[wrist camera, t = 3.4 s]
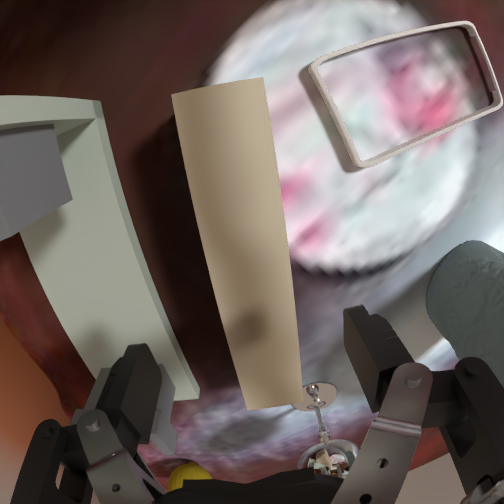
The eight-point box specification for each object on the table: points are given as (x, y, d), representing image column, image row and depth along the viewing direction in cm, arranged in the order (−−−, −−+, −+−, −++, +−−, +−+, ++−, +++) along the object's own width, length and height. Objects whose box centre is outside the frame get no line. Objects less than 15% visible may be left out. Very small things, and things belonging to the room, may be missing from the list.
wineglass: (350, 399, 26) (383, 500, 16) (298, 420, 27) (316, 521, 16) (332, 368, 24) (370, 487, 13) (274, 393, 25) (289, 512, 14)
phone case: (352, 169, 18) (494, 105, 16) (360, 172, 17) (505, 106, 15) (302, 65, 15) (461, 22, 13) (307, 61, 14) (471, 19, 12)
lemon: (183, 448, 29) (177, 504, 22) (222, 461, 31) (221, 514, 24) (164, 461, 31) (157, 511, 24) (200, 473, 33) (198, 521, 25)
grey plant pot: (411, 261, 21) (510, 365, 10) (497, 211, 19) (598, 272, 8) (424, 346, 24) (483, 439, 13) (498, 298, 23) (566, 367, 12)
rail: (256, 91, 16) (262, 77, 11) (293, 356, 24) (303, 402, 19) (189, 103, 16) (171, 94, 11) (245, 363, 24) (247, 410, 19)
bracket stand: (100, 101, 15) (-49, 98, 4) (199, 388, 25) (188, 510, 14) (6, 150, 16) (-118, 193, 5) (115, 393, 25) (83, 495, 14)
